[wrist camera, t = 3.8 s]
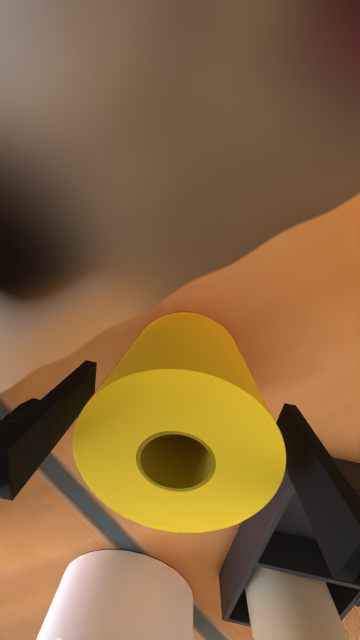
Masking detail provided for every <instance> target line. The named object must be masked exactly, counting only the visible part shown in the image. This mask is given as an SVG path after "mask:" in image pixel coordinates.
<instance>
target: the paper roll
mask: <svg viewBox="0 0 360 640" xmlns="http://www.w3.org/2000/svg"><path fill="white" fill-rule="evenodd" d="M245 591H246V598H247V604H248V611H249V617H250V624H251V630H252V637H253V640H349V638H348V636H347V634H346V631H345V629H344V626H343V624H342V621H341V619H340V616H339V614H338V612H337V609H336V607H335V604H334V602H333V599H332V597H331V594H330V592H329V590H328V587H327V585H326V582H325V581H320V580H316V579H311V578H307V577H302V576H298V575H293V574H289V573H284V572H280V571H276V570H271V569H267V568H262V567H258V566H255V568H254V570H253V572H252V574H251V576H250V578H249V580H248V582H247V584H246V586H245Z"/></svg>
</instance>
